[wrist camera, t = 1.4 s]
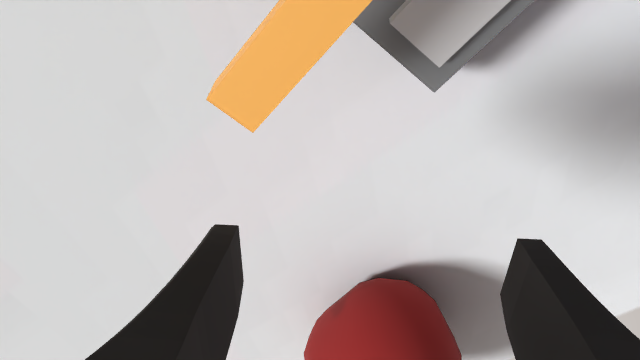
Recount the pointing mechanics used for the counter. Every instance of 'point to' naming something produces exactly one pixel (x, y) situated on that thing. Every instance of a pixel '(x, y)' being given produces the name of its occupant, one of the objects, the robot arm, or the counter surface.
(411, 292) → the tomato
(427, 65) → the grey piece
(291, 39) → the clip
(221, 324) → the robot arm
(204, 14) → the counter surface
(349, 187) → the counter surface
